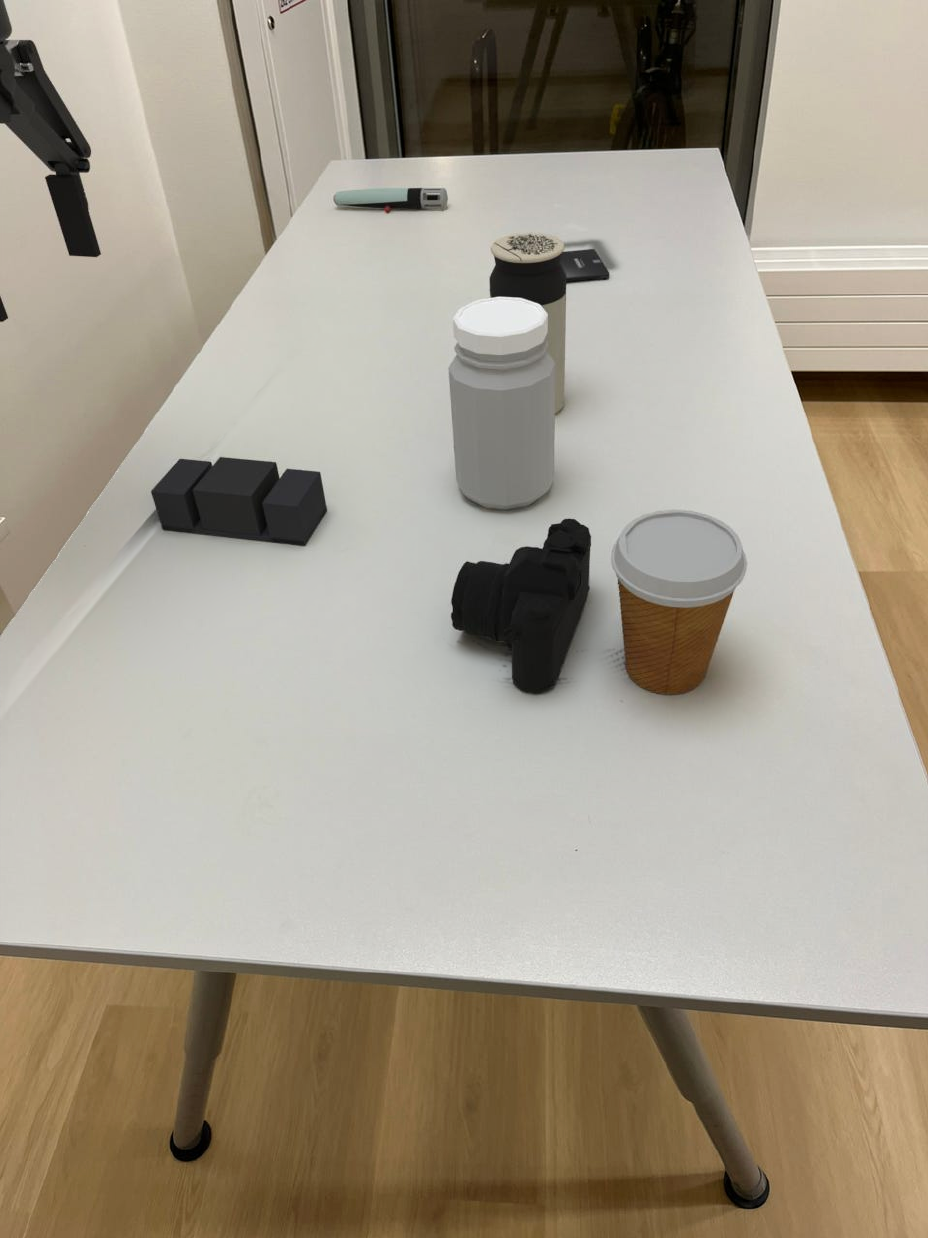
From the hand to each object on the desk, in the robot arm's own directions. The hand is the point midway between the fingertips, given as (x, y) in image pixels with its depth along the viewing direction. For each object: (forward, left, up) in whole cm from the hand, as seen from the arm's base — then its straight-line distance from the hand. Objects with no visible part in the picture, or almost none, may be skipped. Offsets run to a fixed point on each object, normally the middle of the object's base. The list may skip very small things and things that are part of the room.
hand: (41, 285), depth 78 cm
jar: (+36, +13, -24) cm, 45 cm away
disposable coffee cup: (+54, -10, -24) cm, 60 cm away
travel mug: (+35, +30, -24) cm, 52 cm away
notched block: (+12, +3, -24) cm, 27 cm away
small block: (+12, +3, -24) cm, 26 cm away
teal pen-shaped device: (-2, +94, -24) cm, 97 cm away
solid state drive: (+34, +71, -24) cm, 82 cm away
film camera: (+42, -8, -24) cm, 49 cm away
